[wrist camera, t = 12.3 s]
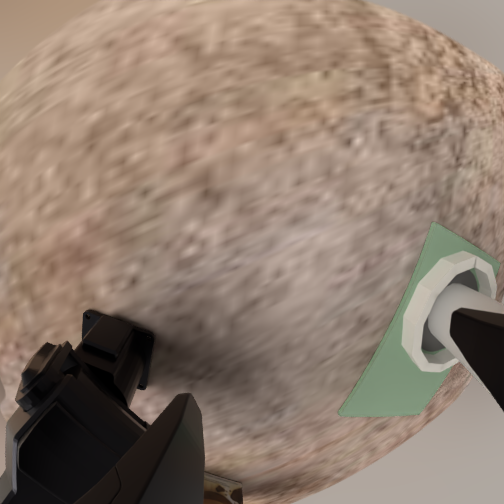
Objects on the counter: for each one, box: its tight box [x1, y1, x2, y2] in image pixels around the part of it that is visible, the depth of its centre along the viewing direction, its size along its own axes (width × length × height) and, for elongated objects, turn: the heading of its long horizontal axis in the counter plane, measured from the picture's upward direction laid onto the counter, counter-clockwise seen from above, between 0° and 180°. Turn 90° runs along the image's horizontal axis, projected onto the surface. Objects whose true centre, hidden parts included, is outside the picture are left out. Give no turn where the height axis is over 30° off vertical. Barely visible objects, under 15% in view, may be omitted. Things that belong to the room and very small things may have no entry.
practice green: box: [338, 222, 501, 417], centre depth 23 cm, size 21×13×3 cm, turn 162°
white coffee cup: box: [428, 283, 504, 394], centre depth 17 cm, size 7×7×10 cm
